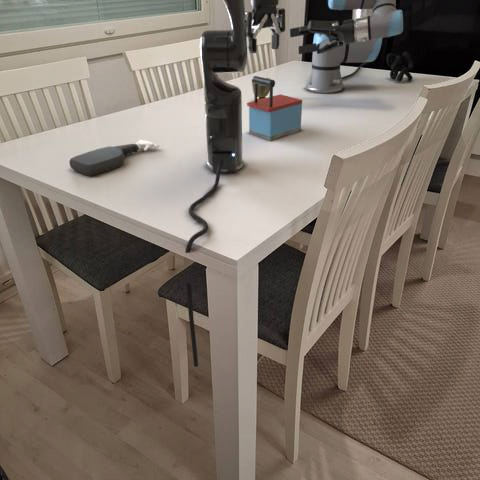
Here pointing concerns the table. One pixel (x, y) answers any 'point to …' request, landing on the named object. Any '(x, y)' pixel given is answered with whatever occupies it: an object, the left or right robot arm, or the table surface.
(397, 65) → the squiggle
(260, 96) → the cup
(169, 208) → the table surface
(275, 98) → the lid
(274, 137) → the chest
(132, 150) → the wireless presentation dongle
